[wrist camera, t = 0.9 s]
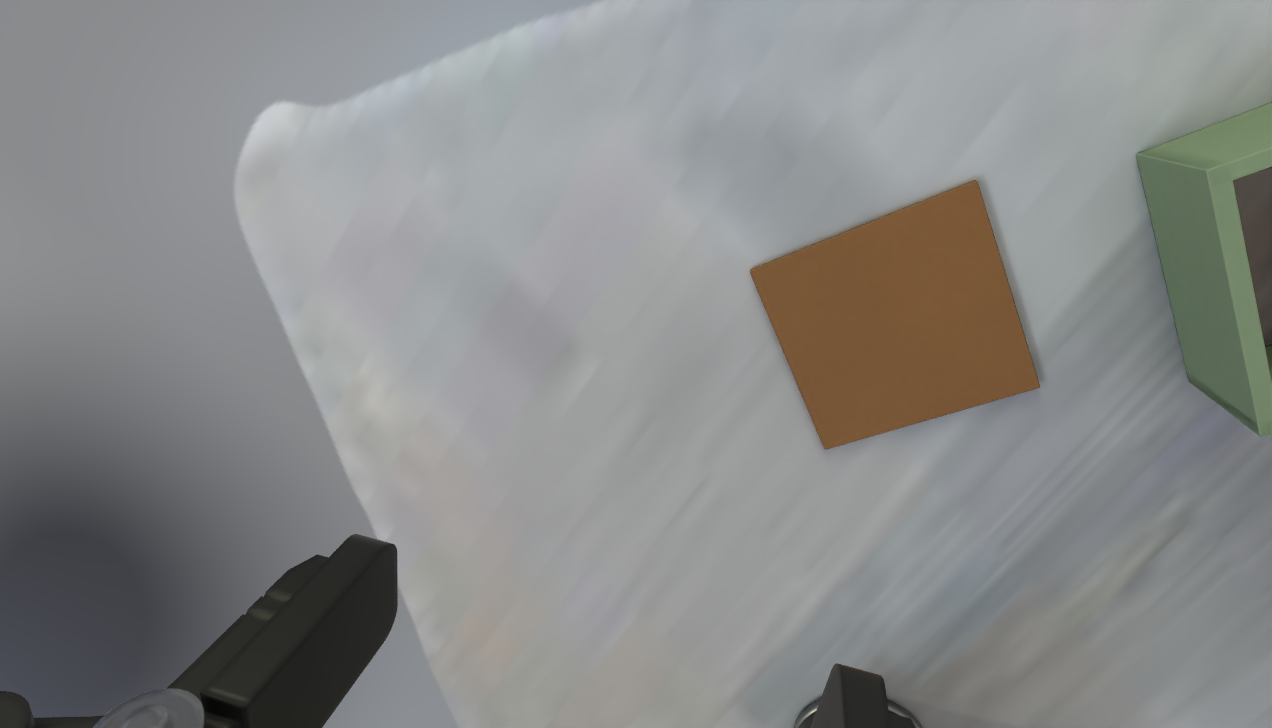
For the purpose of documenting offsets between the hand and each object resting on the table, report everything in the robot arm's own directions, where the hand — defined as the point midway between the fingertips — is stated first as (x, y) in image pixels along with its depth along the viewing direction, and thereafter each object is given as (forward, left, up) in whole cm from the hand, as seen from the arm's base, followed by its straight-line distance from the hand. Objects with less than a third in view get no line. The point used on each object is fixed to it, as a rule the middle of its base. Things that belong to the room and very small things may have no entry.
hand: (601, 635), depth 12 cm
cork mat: (-7, -7, -29) cm, 30 cm away
